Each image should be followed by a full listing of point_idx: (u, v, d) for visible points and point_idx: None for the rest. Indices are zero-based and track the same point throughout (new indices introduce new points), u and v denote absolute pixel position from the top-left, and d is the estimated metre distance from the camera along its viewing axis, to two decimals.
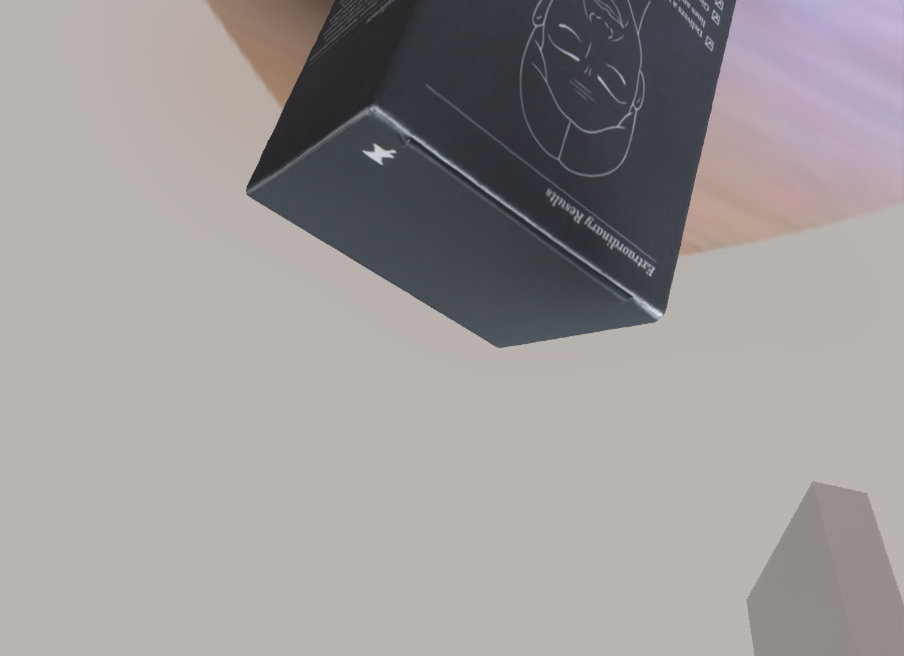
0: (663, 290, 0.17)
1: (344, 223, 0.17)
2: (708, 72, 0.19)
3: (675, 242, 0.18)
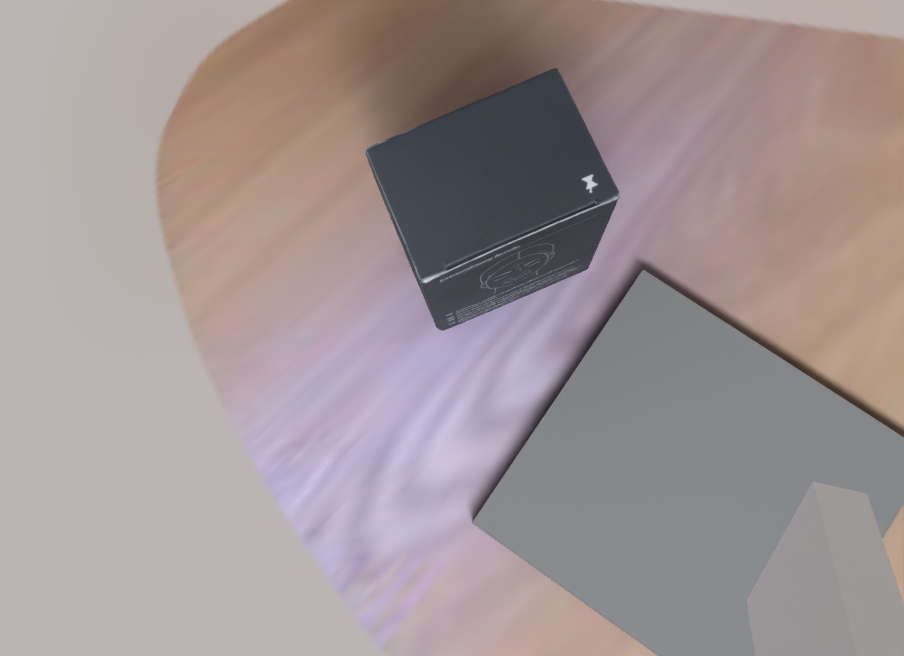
0: (429, 284, 0.29)
1: (529, 121, 0.29)
2: (443, 313, 0.35)
3: (430, 291, 0.31)
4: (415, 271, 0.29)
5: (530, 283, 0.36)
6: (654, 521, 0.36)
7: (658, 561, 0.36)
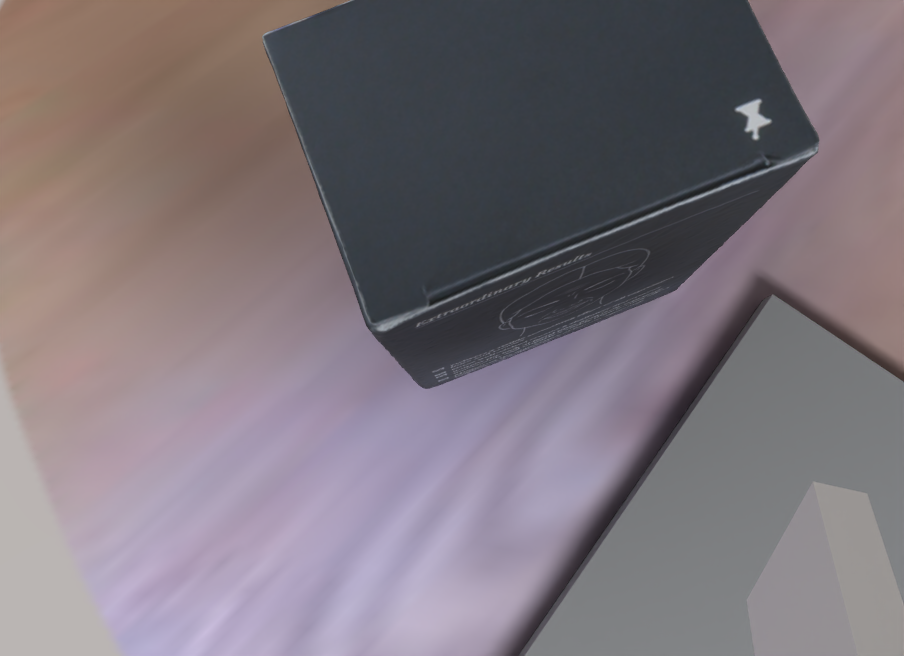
0: (392, 332, 0.13)
1: None
2: (427, 369, 0.19)
3: (398, 344, 0.15)
4: (361, 305, 0.13)
5: (584, 316, 0.20)
6: None
7: None
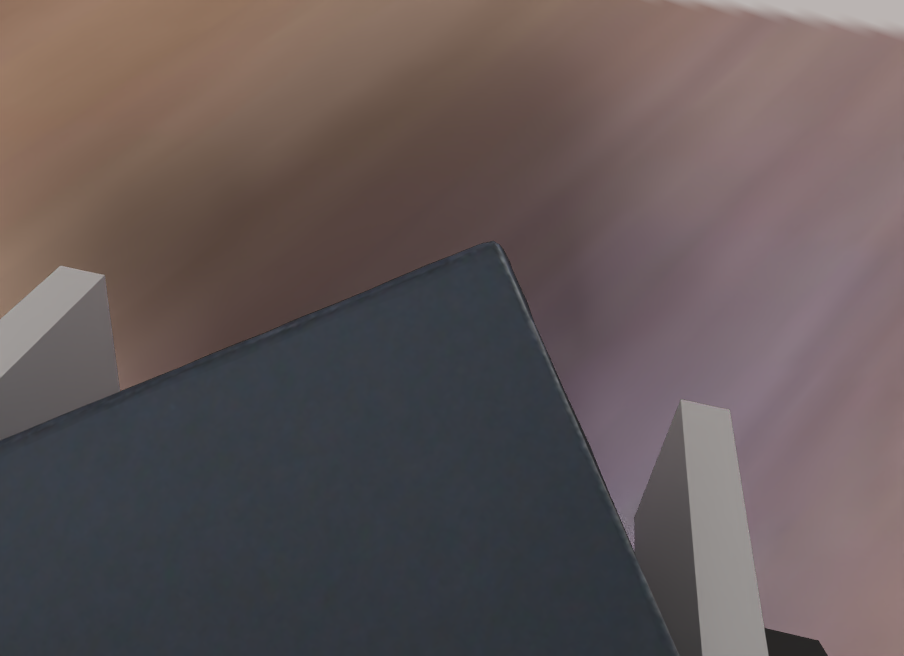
0: None
1: (372, 479, 0.07)
2: None
3: None
4: None
5: None
6: None
7: None
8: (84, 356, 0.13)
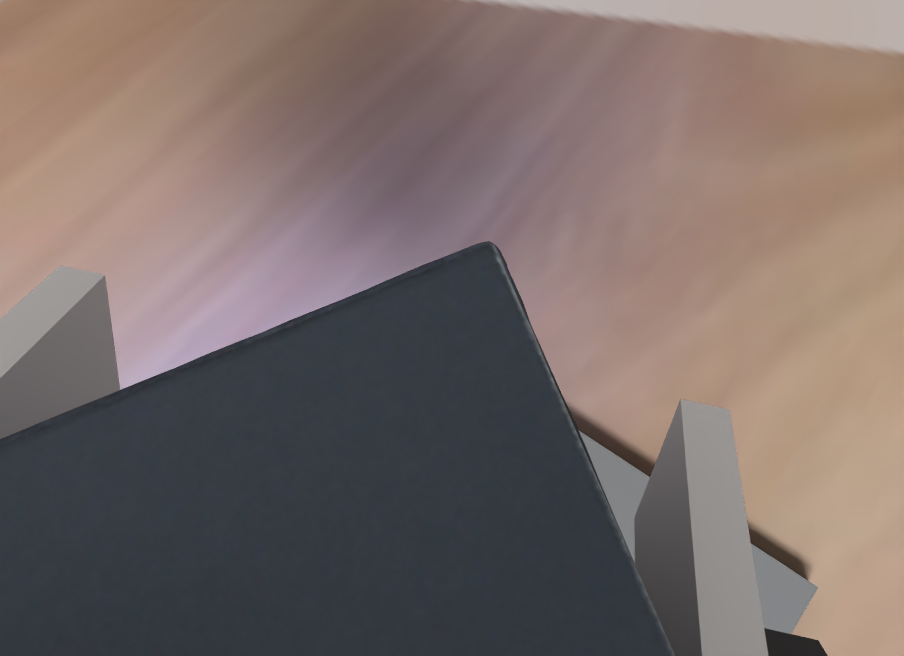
0: None
1: (368, 478, 0.07)
2: None
3: None
4: None
5: None
6: None
7: None
8: (84, 356, 0.13)
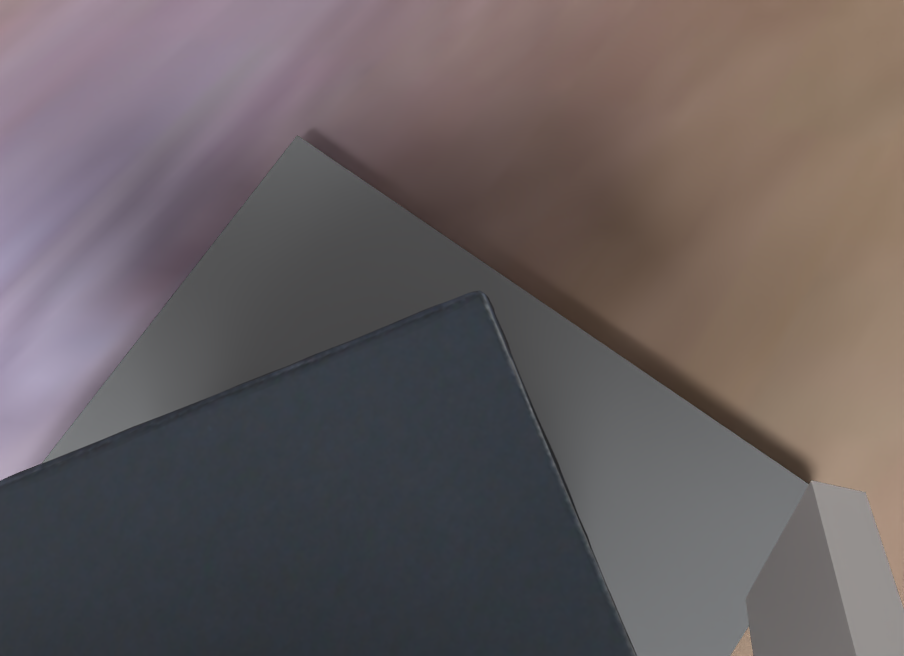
0: None
1: (376, 490, 0.08)
2: None
3: None
4: None
5: None
6: None
7: None
8: None
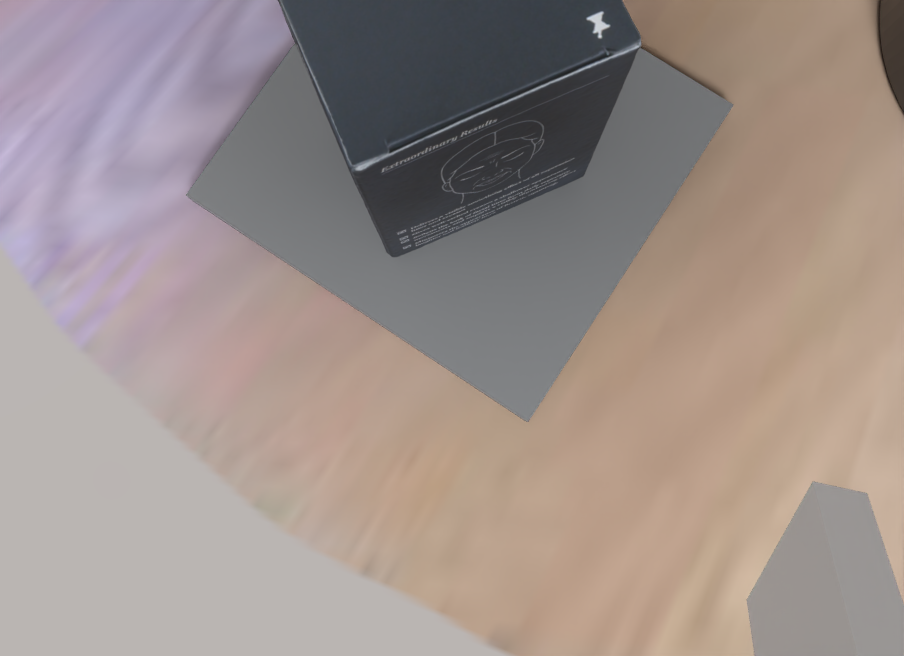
0: (366, 174, 0.20)
1: None
2: (394, 229, 0.26)
3: (370, 189, 0.21)
4: (344, 154, 0.20)
5: (509, 191, 0.27)
6: None
7: None
8: None
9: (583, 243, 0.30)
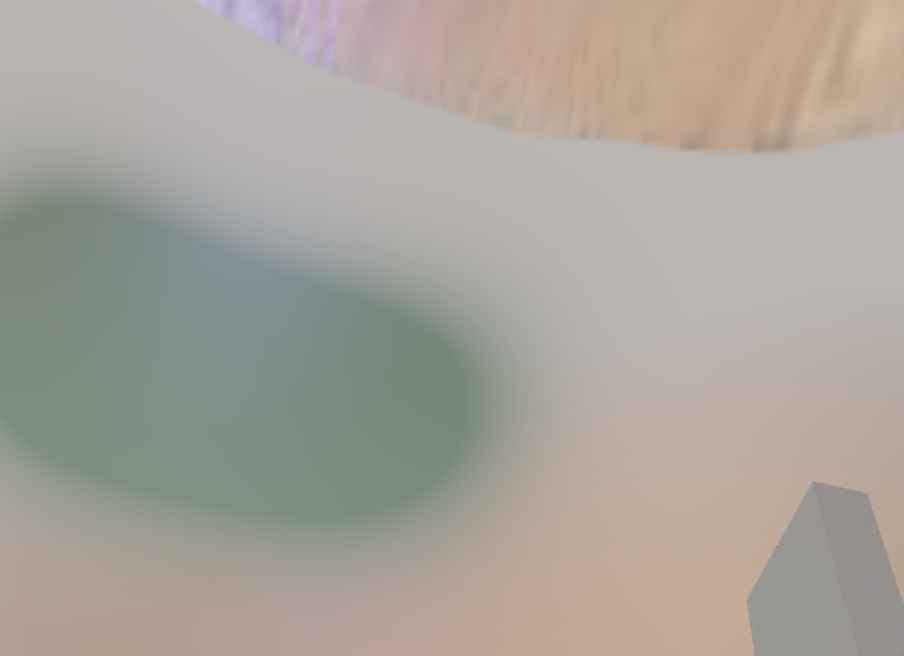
0: None
1: None
2: None
3: None
4: None
5: None
6: None
7: None
8: None
9: None
